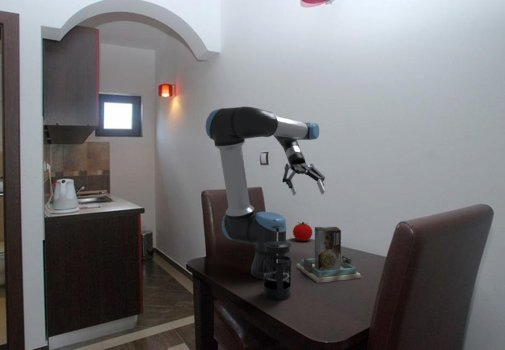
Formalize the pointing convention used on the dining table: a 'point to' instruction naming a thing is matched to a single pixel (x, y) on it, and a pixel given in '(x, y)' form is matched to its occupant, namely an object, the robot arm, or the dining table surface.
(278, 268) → the french press
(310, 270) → the tray
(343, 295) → the dining table surface
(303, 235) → the tomato
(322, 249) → the coffee box
